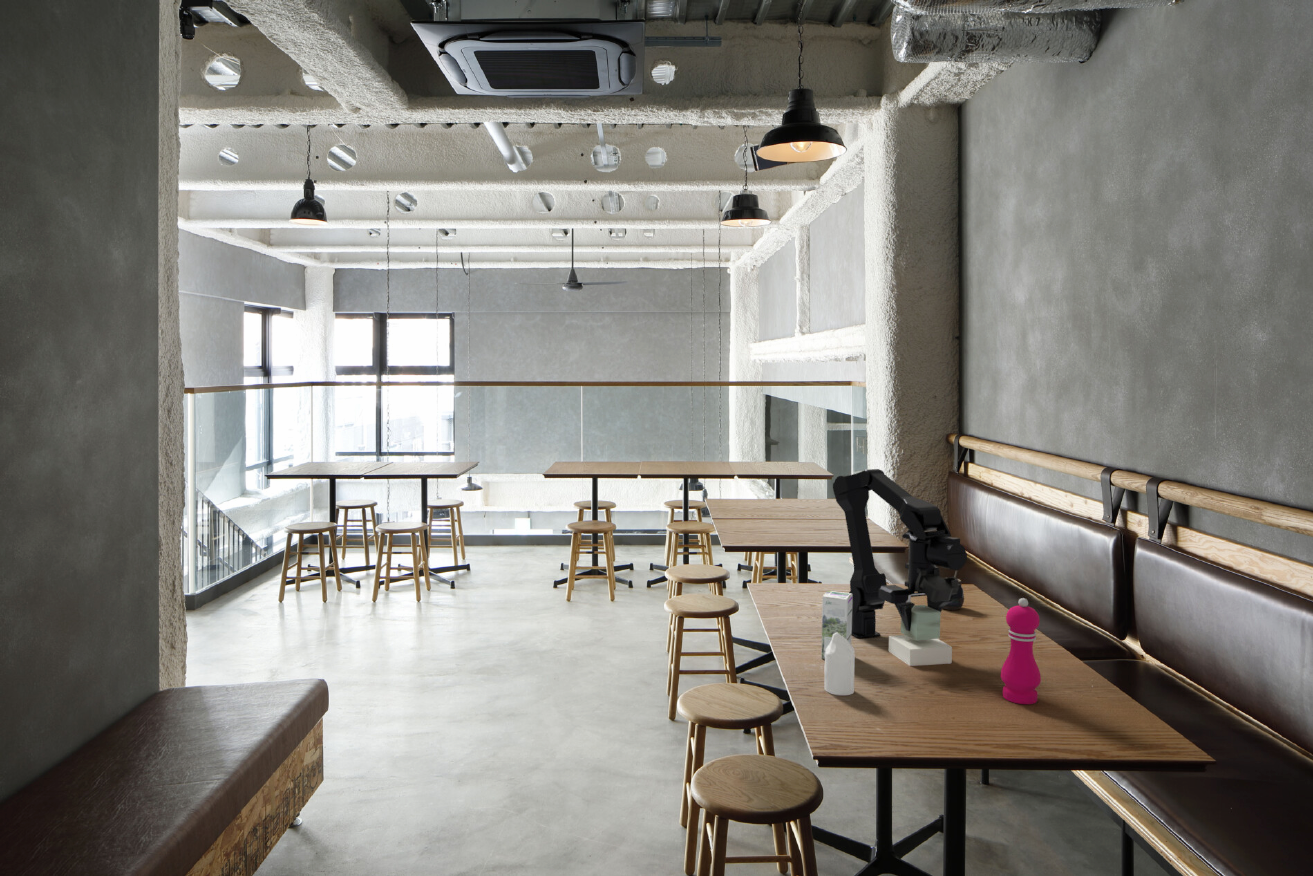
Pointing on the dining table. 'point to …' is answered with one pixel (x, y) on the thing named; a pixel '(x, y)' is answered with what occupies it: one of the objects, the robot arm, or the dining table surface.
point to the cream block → (920, 650)
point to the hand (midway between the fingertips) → (920, 629)
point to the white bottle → (839, 666)
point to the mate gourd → (955, 600)
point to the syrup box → (836, 617)
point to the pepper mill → (1021, 656)
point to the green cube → (923, 623)
